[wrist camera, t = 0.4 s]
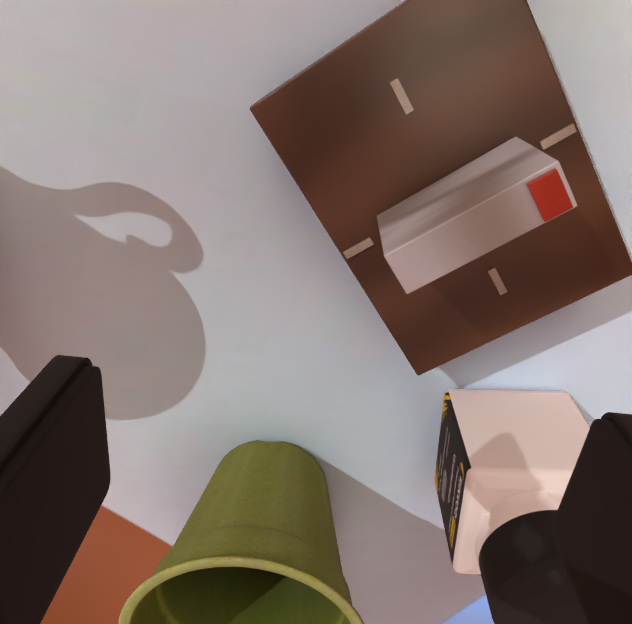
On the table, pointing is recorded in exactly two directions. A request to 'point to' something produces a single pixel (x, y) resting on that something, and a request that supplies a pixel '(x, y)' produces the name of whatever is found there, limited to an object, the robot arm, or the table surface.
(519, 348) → the table surface
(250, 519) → the plant pot
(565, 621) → the medicine bottle
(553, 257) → the tap base
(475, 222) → the tap handle
